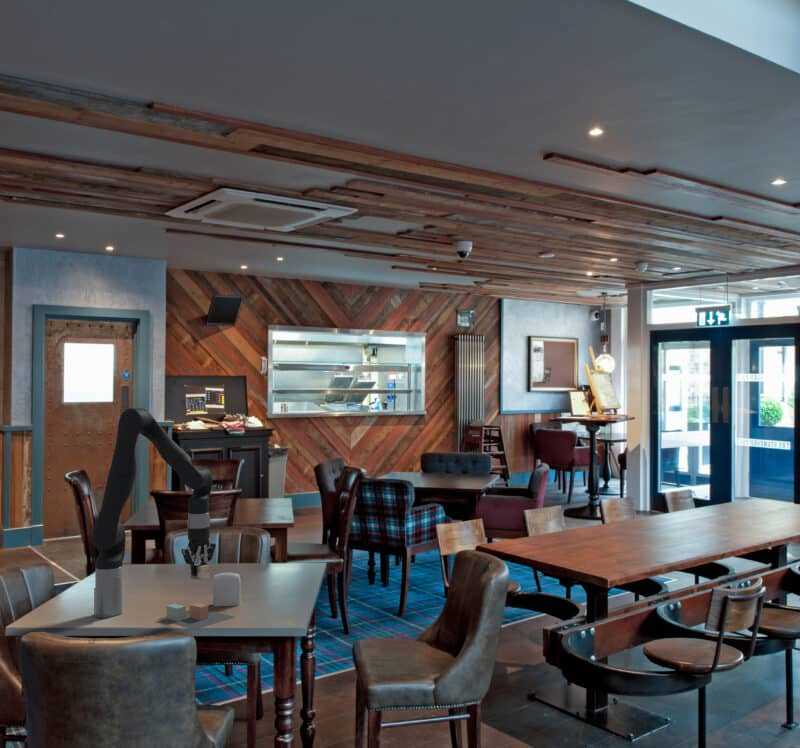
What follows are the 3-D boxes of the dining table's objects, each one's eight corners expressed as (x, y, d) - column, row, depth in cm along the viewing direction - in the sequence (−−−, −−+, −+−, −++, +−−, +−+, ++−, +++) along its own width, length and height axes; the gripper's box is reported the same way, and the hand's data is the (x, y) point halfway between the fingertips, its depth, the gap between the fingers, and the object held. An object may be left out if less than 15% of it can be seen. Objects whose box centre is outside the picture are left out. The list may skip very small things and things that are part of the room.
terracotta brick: (189, 617, 279) (189, 604, 279) (197, 615, 282) (197, 602, 282) (200, 620, 275) (200, 607, 275) (208, 618, 278) (208, 605, 278)
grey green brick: (166, 618, 278) (166, 605, 278) (174, 616, 281) (174, 603, 281) (177, 621, 274) (177, 608, 274) (185, 619, 277) (185, 606, 277)
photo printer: (212, 608, 293) (212, 574, 293) (213, 604, 297) (213, 571, 298) (240, 607, 294) (240, 573, 294) (241, 604, 298) (241, 571, 299)
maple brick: (190, 578, 279) (190, 565, 279) (198, 576, 282) (197, 564, 282) (201, 580, 275) (201, 567, 276) (209, 578, 278) (208, 565, 278)
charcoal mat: (157, 620, 277) (157, 619, 277) (198, 609, 292) (198, 607, 292) (194, 631, 265) (194, 629, 265) (235, 618, 280) (235, 616, 280)
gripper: (207, 521, 287) (207, 569, 287) (175, 527, 276) (175, 577, 275) (221, 523, 282) (221, 572, 282) (189, 529, 271) (189, 580, 271)
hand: (198, 574), depth 279 cm, fingers closed on maple brick, 3 cm apart
